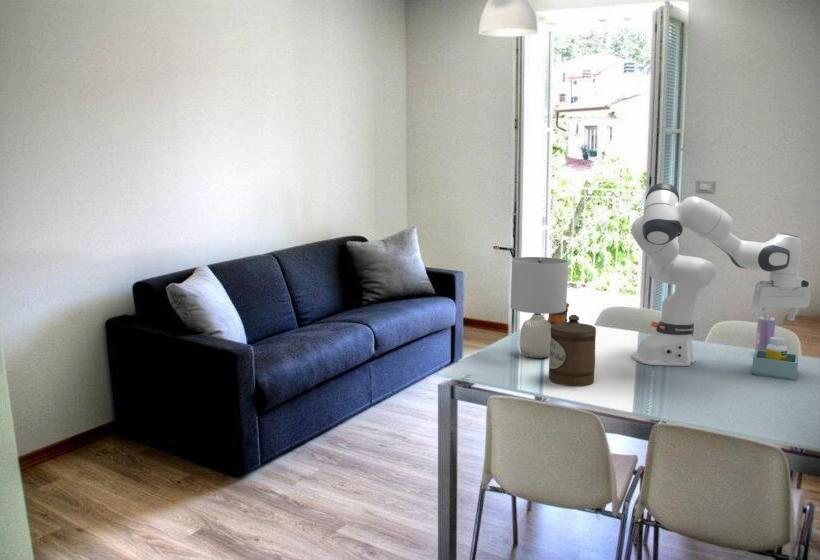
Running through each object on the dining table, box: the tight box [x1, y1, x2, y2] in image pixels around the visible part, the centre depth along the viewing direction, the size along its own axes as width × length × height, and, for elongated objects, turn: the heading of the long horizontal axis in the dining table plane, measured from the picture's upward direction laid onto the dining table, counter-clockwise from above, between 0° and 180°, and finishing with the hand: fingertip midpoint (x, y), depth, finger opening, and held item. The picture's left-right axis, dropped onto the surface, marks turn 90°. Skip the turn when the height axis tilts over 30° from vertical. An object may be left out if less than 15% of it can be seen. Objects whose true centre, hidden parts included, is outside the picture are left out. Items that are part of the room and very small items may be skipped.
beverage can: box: [754, 315, 776, 351], centre depth 272 cm, size 6×6×15 cm
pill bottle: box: [765, 336, 788, 361], centre depth 249 cm, size 6×6×12 cm
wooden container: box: [548, 314, 597, 387], centre depth 237 cm, size 15×15×22 cm
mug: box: [547, 302, 570, 325], centre depth 312 cm, size 13×10×12 cm
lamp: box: [509, 256, 569, 359], centre depth 266 cm, size 20×20×37 cm
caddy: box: [751, 349, 799, 381], centre depth 250 cm, size 14×14×6 cm
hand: (778, 320), depth 248 cm, fingers open, 8 cm apart
